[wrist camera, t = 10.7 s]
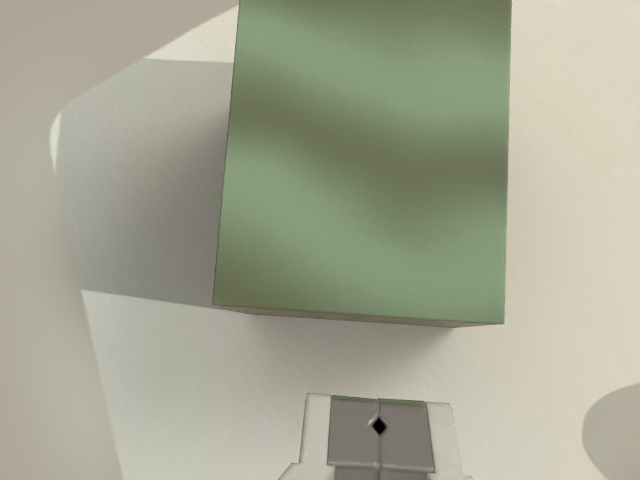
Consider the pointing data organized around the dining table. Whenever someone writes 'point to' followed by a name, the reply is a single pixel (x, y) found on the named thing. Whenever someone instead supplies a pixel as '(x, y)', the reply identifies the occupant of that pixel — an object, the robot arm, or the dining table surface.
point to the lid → (368, 159)
